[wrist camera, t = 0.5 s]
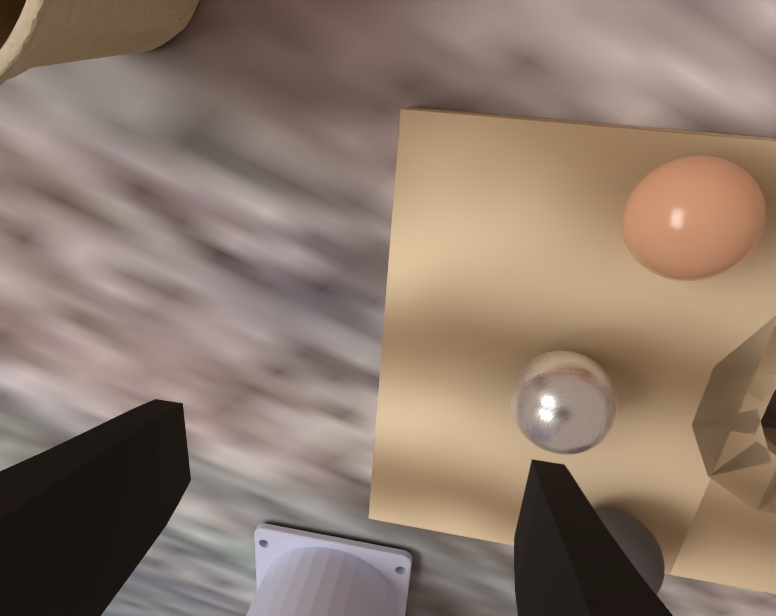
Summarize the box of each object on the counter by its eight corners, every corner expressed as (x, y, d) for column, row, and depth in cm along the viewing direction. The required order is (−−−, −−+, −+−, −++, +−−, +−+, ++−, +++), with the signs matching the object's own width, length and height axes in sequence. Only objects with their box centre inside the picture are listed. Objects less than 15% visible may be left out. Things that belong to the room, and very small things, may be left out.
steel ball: (591, 421, 18) (614, 486, 15) (499, 407, 18) (503, 467, 15) (615, 340, 16) (644, 393, 13) (515, 326, 17) (522, 375, 14)
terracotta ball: (709, 266, 15) (763, 307, 12) (597, 253, 15) (625, 290, 13) (748, 155, 14) (820, 171, 11) (625, 143, 14) (663, 157, 11)
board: (851, 560, 21) (896, 616, 19) (379, 477, 23) (368, 518, 21) (1095, 165, 15) (1209, 178, 12) (410, 107, 17) (400, 109, 15)
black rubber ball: (635, 560, 20) (662, 641, 17) (551, 544, 20) (563, 621, 17) (658, 497, 18) (692, 573, 16) (568, 482, 19) (585, 553, 16)
